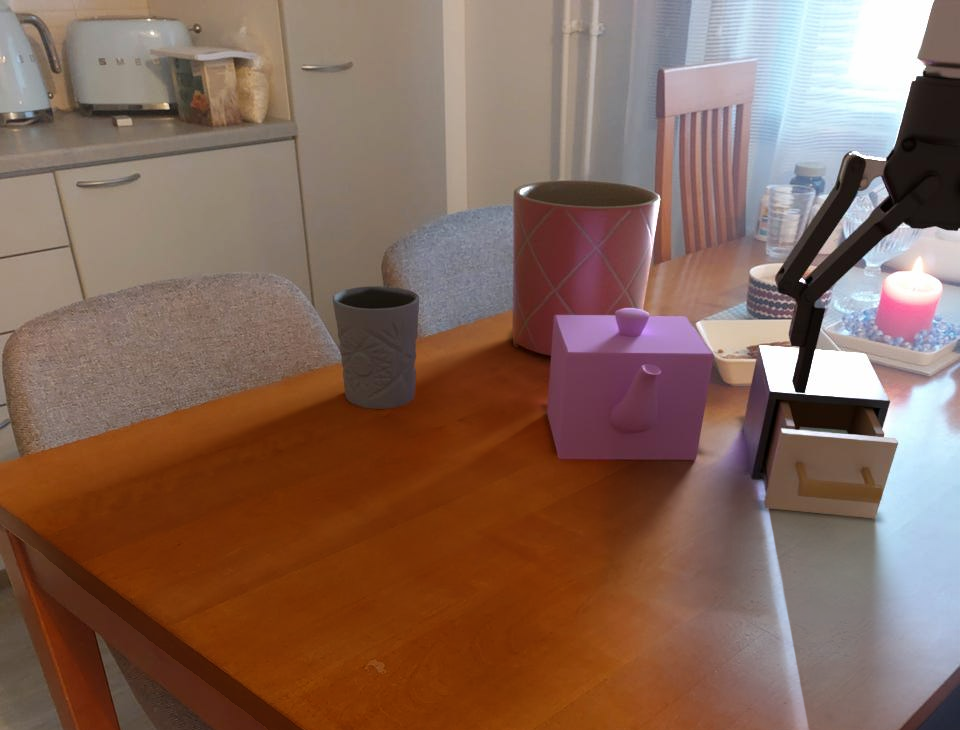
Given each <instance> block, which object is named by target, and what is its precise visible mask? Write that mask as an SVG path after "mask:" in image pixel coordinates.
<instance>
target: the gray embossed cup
mask: <svg viewBox="0 0 960 730" xmlns="http://www.w3.org/2000/svg"><path fill="white" fill-rule="evenodd" d="M332 304H333V310H334V318H335V322H336V327H337V338H338V340H339V343H340V344H339V354H340V357H341V358H340V359H341V366H342V379H343V380H342V381H343V386H344V393H345V394H344V395H345V398H346V400H347V401H348V402H349V403H350V404H352V405H354V406H357V407H359V408H364V409H369V410H390V409H396V408H400V407H403V406H406V405H408V404H410V403H411V402H413V400H414V399H415V395H416V383H417V382H416V378H417V377H416V376H417V372H416V365H415V364H416V359H417V352H416V349H417V344H416V343H417V338H418V328H419V312H420V311H419V310H420V295H419V294H417V293H416V292H415V291H412V290H410V289H406V288H401V287H395V286H385V285H384V286H383V285H381V286H380V285H374V286H373V285H372V286H358V287H352V288H348V289H344V290H341V291H338V292H337V293H335V294H334V295H333V296H332Z"/></svg>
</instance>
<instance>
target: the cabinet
mask: <svg viewBox="0 0 960 730" xmlns="http://www.w3.org/2000/svg"><path fill="white" fill-rule="evenodd" d="M798 352H799V347H798V348H797V347H785V346H771V345H759V346H758V349H757V353H756V357H755V358H756V359H755V364H754V367H753V368H754V370H753V374H752V379H751V384H750V388H749V393H748V399H747V404H746V408H745V413H744V419H743V424H742V429H743V435H744V441H745V447H746V454H747V461H748V467H749V474H750V478H751V480H759V481H764V480H765V478H764V473H763V462H764V454H765V449H766V444H767V440H768V435H769V431H770V426H771V422H772V417H773V412H774V408H775V403H776V399H778V400H790V401H802V402H815V403H827V404H839V405H851V406H863V407H872V408H873V411H874V413H875V415H876V417H877V419H878V421H879V423H880V426H881V428H882V430H883V428H884V424H885V422H886V418H887V415H888V411H889V409H890V408H889V407H890V404H891V400H890V398H889V396H888V394H887V391H886V390H885V388H884V386H883V384H882V382H881V380H880V378H879V377H878V375H877V372H876V371H875V369H874V367H873V365H872V363H871V361H870V359H869V357H868V355H867V353H865V352H864V353H863V352H850V351H836V350H824V349H823V350H822V349H816V350H815V354H814V359H813V363H812V367H811V371H810V375H809V380H808V384H807V388H806V392H805V393H795V390H794V386H793V383H792V378H793V374H794V369H795V365H796V360H797V356H798Z"/></svg>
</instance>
